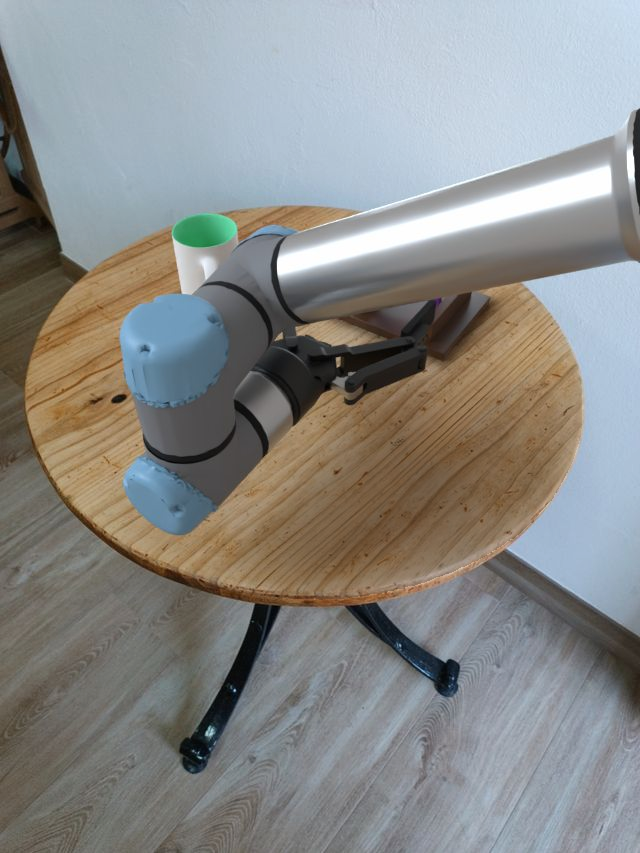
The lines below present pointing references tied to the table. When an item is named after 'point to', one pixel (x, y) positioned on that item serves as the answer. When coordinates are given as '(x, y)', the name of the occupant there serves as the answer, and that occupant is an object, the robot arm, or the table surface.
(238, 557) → the table surface
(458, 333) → the rack
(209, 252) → the mug
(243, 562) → the table surface
